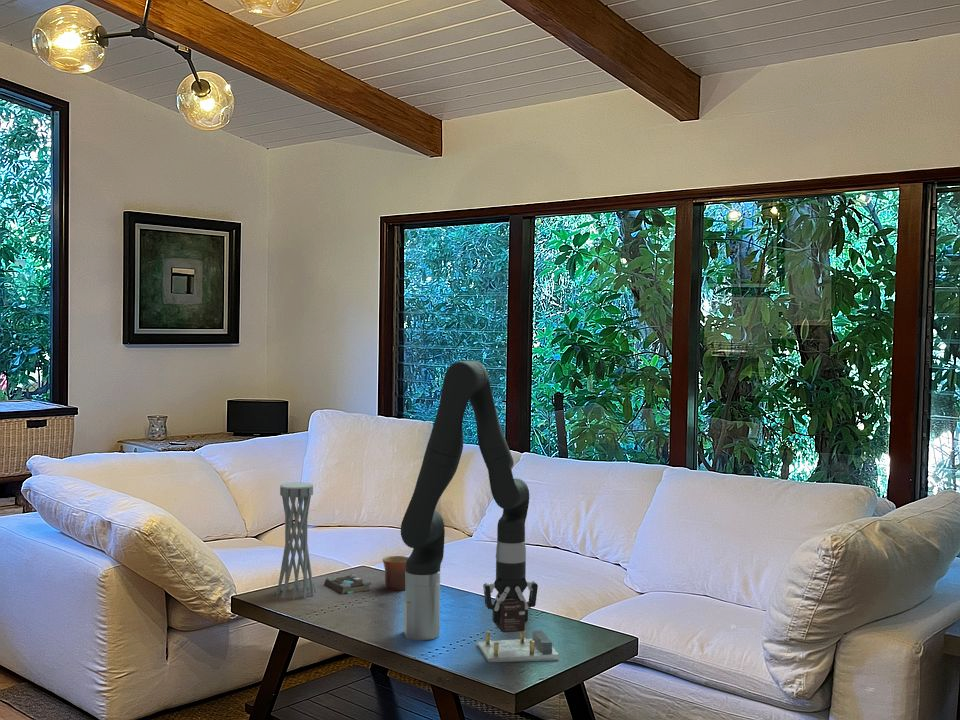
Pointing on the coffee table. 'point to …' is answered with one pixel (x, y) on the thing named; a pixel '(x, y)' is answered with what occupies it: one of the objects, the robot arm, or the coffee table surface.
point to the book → (347, 584)
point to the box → (512, 616)
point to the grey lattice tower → (296, 537)
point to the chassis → (519, 648)
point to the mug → (394, 572)
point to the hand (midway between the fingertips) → (510, 623)
